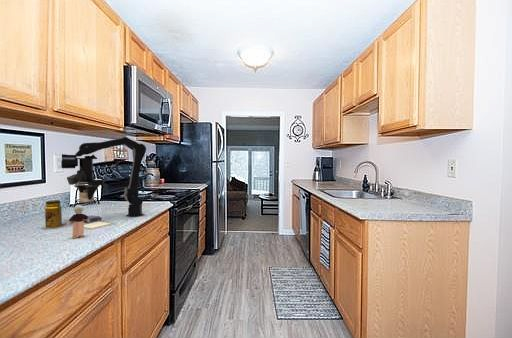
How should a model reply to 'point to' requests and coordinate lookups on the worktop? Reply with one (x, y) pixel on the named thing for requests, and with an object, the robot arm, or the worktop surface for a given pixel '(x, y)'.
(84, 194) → the stamp
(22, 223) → the worktop surface
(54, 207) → the condiment
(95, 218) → the ink pad
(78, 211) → the grandmother figurine
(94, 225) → the cream square plate
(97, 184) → the robot arm
